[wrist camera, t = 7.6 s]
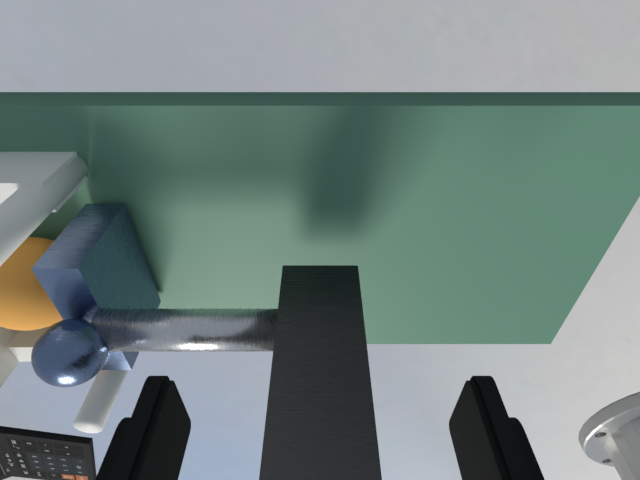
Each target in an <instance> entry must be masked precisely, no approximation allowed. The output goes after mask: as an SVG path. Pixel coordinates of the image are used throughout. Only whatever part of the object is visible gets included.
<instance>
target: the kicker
mask: <svg viewBox="0 0 640 480" xmlns="http://www.w3.org/2000/svg"><path fill="white" fill-rule="evenodd" d="M31 269H32V271H33V273H34V274H35V276H36V277H37V279H38V281H39V282H40V284H41V285H42V287H43V288H44V290H45V292H46V293H47V295H48V296H49V298H50V300H51V301H52V303H53V304H54V306H55V307H56V309H57V311H58V312H59V314H60V315H61V317H62V319H63V320H62V321H59V322H57V323H55V324H53V325H51V326H50V327H48V328H47V329H46V330H45V331H43V332H42V333H41V334H40V336H39V337H38V338H37V340H36V342H35V343H34V346H33V349H32V353H31V363H32V367H33V369H34V371H35V373H36V374H37V376H38V377H39V378H40V379H41V380H43V381H44V382H46V383H48V384H50V385H53V386H57V387H73V386H77V385H80V384H83V383H85V382H87V381H89V380H90V379H92V378H93V377H95V376H96V375H97V374H98V373H99V372H100V371H101V370H132V368H133V366H134V363H135V361H136V359H137V356H138V354H139V352H140V351H273V357H272V366H271V375H270V384H269V393H268V403H267V412H266V421H265V430H264V439H263V448H262V457H261V466H260V475H259V480H382V475H381V466H380V458H379V449H378V440H377V431H376V422H375V413H374V404H373V395H372V386H371V377H370V369H369V360H368V351H367V342H366V333H365V324H364V315H363V306H362V297H361V289H360V280H359V271H358V265H283V267H282V276H281V285H280V294H279V303H278V309H158V307H159V305H160V302H161V300H160V297H159V295H158V292H157V289H156V286H155V284H154V281H153V278H152V276H151V273H150V270H149V268H148V265H147V262H146V260H145V257H144V254H143V252H142V249H141V246H140V244H139V241H138V238H137V236H136V233H135V230H134V228H133V225H132V222H131V220H130V217H129V214H128V211H127V209H126V206H125V203H86V204H85V206H84V207H83V208H82V209H81V210H80V211H79V213H78V214H77V215H76V216H75V217H74V218H73V220H72V221H71V222H70V223H69V224H68V226H67V227H66V228H65V229H64V230H63V231H62V233H61V234H60V235H59V236H58V237H57V239H56V240H55V241H54V242H53V243H52V244H51V246H50V247H49V248H48V249H47V250H46V251H45V253H44V254H43V255H42V256H41V257H40V259H39V260H38V261H37V262H36V263H35V264H34V266H33V267H32V268H31Z"/></svg>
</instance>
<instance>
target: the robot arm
mask: <svg viewBox="0 0 640 480" xmlns="http://www.w3.org/2000/svg"><path fill="white" fill-rule="evenodd" d="M190 430H191V420H190V417H189V415H188V413H187V410H186V408H185V406H184V403H183V401H182V399H181V396H180V394H179V391H178V389H177V387H176V384H175V382H174V381H173V380H170V379H169V377H168V376H148V377H147V379H146V380H145V382H144V385H143V388H142V390H141V393H140V395H139V398H138V401H137V403H136V406H135V408H134V411H133V414H132V416H131V417H125V418H123V419H122V420H121V421H120V423H119V424H118V426H117V428H116V430H115V432H114V435H113V437H112V440H111V442H110V445H109V447H108V450H107V452H106V455H105V457H104V459H103V462H102V464H101V467H100V469H99V472H98V474H97V477H96V479H95V480H178V477H179V474H180V470H181V466H182V462H183V458H184V454H185V450H186V446H187V443H188V439H189V435H190ZM449 430H450V435H451V439H452V443H453V446H454V450H455V454H456V458H457V462H458V466H459V470H460V474H461V477H462V480H545V479H544V477H543V474H542V472H541V469H540V467H539V464H538V462H537V459H536V457H535V455H534V452H533V450H532V447H531V445H530V442H529V440H528V437H527V435H526V432H525V430H524V428H523V426H522V424H521V423H520V421H519V420H518V419H517V418H515V417H509V416H508V414H507V411H506V408H505V406H504V403H503V401H502V398H501V395H500V393H499V390H498V388H497V385H496V382H495V380H494V379H493V377H492V376H472V377H471V379H470V380H467V381H466V382H465V384H464V387H463V389H462V391H461V394H460V396H459V399H458V401H457V403H456V406H455V408H454V410H453V413H452V415H451V417H450V420H449ZM578 440H579V443H580V445H581V447H582V449H583V451H584V453H585V454H586V456H587V457H588V458H590V459H591V460H593V461H595V462H597V463H600V464H603V465H607V466H612V467H615V469H616V470H617V472H618V474H619V476H620V478H621V480H640V392H637V393H635V394H632V395H629V396H627V397H624V398H622V399H620V400H617V401H615V402H613V403H611V404H609V405H608V406H606V407H604V408H602V409H601V410H599V411H598V412H596V413H595V414H594V415H592V416H591V417H590V418H589V419H588V420H587V421H586V422H585V423H584V424H583V426H582V428H581V429H580V431H579V436H578Z"/></svg>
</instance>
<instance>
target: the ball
mask: <svg viewBox="0 0 640 480" xmlns="http://www.w3.org/2000/svg"><path fill="white" fill-rule="evenodd" d="M53 242H54V241H53V240H50V239H46V238H39V237H28V238H27V239H26V240H25V241H24V242H23V243H22V244H21V245H20V246H19V247H18V248H17V249H16V250H15V251H14V252H13V253H12V255H11V256H10V257H9V258H8V259H7V260H6V261H5V262H4V263H3V264H2V265H1V266H0V326H1V327H4V328H7V329H12V330H21V331H28V330H37V329H42V328H45V327H49V326H51V325H53V324H55V323H57V322H59V321H61V320H63V319H62V317H61V315H60V314H59V312H58V311H57V309H56V307H55V306H54V304H53V303H52V301H51V300H50V298H49V296H48V295H47V293H46V292H45V290H44V288H43V287H42V285H41V284H40V282H39V281H38V279H37V277H36V276H35V274H34V273H33V271H32V269H31V268H32V267H33V266H34V264H35V263H36V262H37V261H38V260H39V259H40V257H41V256H42V255H43V254H44V253H45V251H46V250H47V249H48V248H49V247H50V246H51V244H52V243H53Z"/></svg>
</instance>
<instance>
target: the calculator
mask: <svg viewBox="0 0 640 480" xmlns="http://www.w3.org/2000/svg"><path fill="white" fill-rule="evenodd" d="M12 476H13V477H22V478H31V479H40V480H95V479H96V477H97V475H96V466H95V457H94V447H93V438H89V437H82V436H74V435H66V434H59V433H51V432H44V431H36V430H28V429H21V428H13V427H5V426H0V480H3V479H6V478H9V477H12Z"/></svg>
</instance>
